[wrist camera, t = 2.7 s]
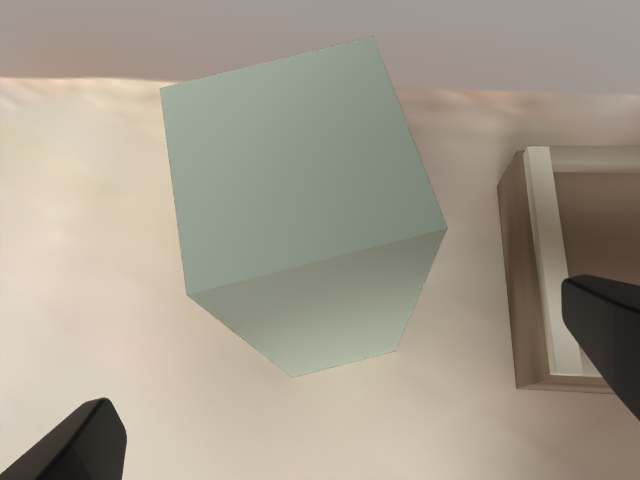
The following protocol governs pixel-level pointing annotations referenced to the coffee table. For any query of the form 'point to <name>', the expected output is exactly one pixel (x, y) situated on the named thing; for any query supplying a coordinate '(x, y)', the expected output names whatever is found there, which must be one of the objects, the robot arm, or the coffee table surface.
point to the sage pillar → (302, 205)
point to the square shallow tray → (564, 250)
